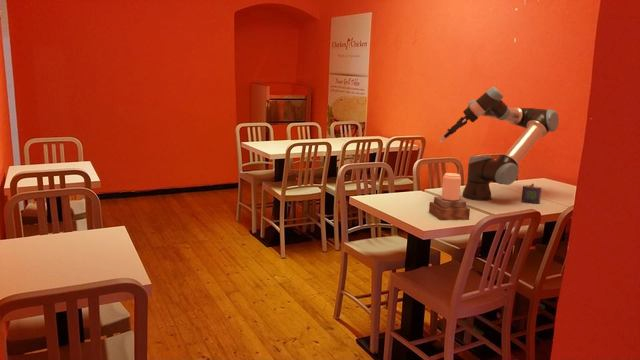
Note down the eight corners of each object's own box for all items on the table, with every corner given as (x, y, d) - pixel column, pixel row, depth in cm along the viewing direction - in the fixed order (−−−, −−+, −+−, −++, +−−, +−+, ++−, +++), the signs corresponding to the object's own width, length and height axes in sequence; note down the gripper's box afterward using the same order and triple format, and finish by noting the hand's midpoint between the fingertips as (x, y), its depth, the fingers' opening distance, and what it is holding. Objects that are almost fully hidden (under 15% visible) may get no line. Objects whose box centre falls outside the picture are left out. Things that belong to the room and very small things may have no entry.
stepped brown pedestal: (455, 211, 256) (457, 195, 255) (469, 219, 243) (470, 202, 241) (428, 212, 254) (430, 196, 252) (441, 220, 240) (442, 203, 238)
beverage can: (439, 197, 250) (441, 172, 248) (455, 197, 251) (457, 172, 248) (444, 201, 242) (446, 176, 240) (461, 201, 243) (463, 176, 240)
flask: (539, 203, 280) (541, 183, 278) (539, 204, 277) (542, 184, 275) (520, 201, 282) (523, 182, 280) (521, 202, 280) (523, 183, 277)
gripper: (478, 119, 250) (443, 148, 258) (479, 116, 273) (448, 142, 281) (467, 107, 251) (433, 136, 258) (470, 105, 274) (438, 131, 282)
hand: (440, 139), depth 270 cm, fingers open, 13 cm apart
